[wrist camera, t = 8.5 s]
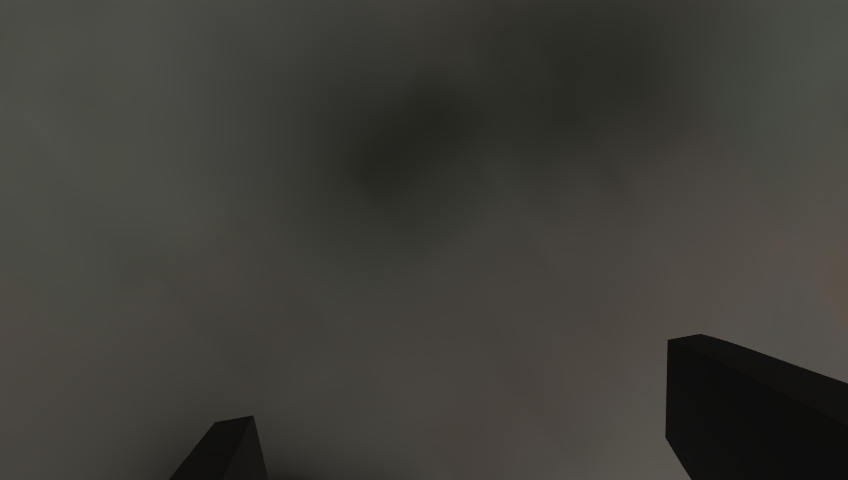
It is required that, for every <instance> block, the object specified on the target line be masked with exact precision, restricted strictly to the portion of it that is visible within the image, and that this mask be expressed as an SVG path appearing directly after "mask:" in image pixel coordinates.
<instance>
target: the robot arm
mask: <svg viewBox="0 0 848 480" xmlns="http://www.w3.org/2000/svg"><path fill="white" fill-rule="evenodd" d="M665 438H666V439H667V441H668V443H669V444H670V446H671V447H672V449H673V451H674V452H675V454H676V456H677V457H678V459H679V461H680V462H681V464H682V466H683V467H684V469H685V470H686V472H687V473H688V475H689V476H690V478H691V479H692V480H848V383H845V382H842V381H839V380H836V379H833V378H830V377H827V376H824V375H821V374H819V373H816V372H813V371H810V370H807V369H804V368H801V367H799V366H796V365H793V364H790V363H787V362H785V361H782V360H779V359H776V358H773V357H771V356H768V355H765V354H762V353H759V352H757V351H754V350H751V349H748V348H745V347H742V346H739V345H736V344H733V343H730V342H727V341H724V340H721V339H717V338H714V337H710V336H706V335H702V334H697V335H692V336H686V337H681V338H675V339H670V340H668V352H667V394H666V436H665ZM169 480H268V476H267V472H266V468H265V464H264V459H263V455H262V451H261V447H260V442H259V438H258V434H257V429H256V425H255V421H254V417H253V416H248V417H242V418H237V419H231V420H226V421H220V422H215V423H214V424H213V426H212V427H211V428H210V429H209V430H208V432H207V433H206V434H205V435H204V437H203V438H202V439H201V440H200V442H199V443H198V444H197V445H196V447H195V448H194V449H193V450H192V452H191V453H190V454H189V455H188V457H187V458H186V459H185V460H184V462H183V463H182V464H181V465H180V467H179V468H178V469H177V470H176V472H175V473H174V474H173V475H172V477H171V478H170V479H169Z"/></svg>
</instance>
